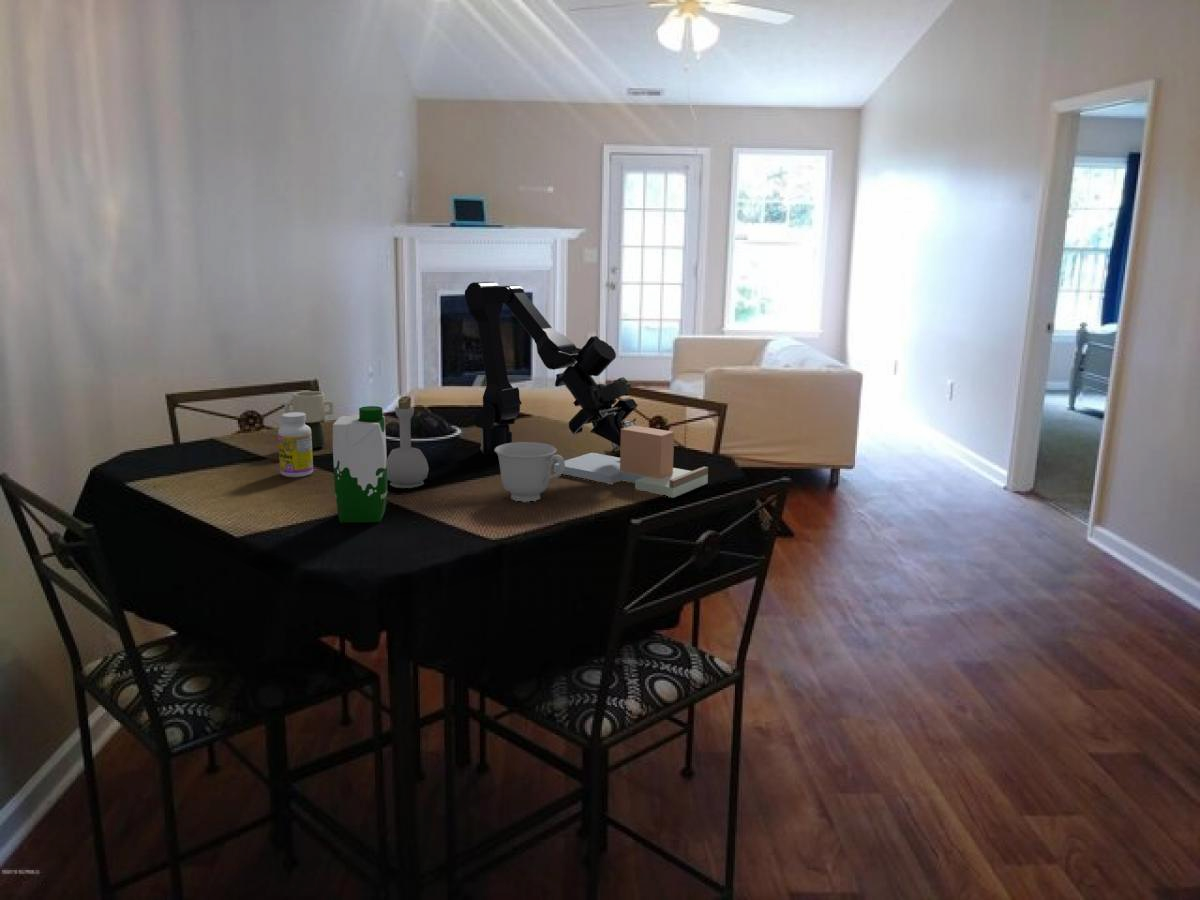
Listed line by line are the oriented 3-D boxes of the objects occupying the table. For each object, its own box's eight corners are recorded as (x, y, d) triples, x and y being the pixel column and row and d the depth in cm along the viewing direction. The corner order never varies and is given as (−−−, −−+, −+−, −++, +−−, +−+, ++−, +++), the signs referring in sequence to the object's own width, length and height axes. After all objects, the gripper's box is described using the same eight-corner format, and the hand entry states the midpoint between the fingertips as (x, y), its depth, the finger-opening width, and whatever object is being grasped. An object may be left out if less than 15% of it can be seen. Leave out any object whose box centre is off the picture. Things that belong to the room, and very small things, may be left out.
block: (619, 470, 196) (620, 429, 194) (632, 466, 200) (634, 425, 198) (660, 478, 191) (661, 435, 189) (672, 473, 195) (674, 431, 193)
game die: (628, 464, 225) (651, 430, 225) (626, 460, 216) (650, 425, 217) (598, 444, 226) (621, 410, 227) (594, 439, 218) (619, 404, 218)
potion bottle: (436, 480, 193) (434, 395, 189) (414, 491, 185) (411, 402, 181) (399, 476, 196) (396, 392, 192) (376, 487, 188) (372, 399, 184)
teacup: (545, 513, 172) (545, 461, 170) (482, 500, 180) (481, 450, 178) (580, 498, 182) (581, 449, 180) (519, 486, 190) (519, 439, 188)
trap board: (553, 473, 201) (553, 457, 200) (591, 461, 212) (591, 446, 211) (673, 497, 184) (673, 480, 183) (707, 483, 195) (708, 467, 195)
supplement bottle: (274, 473, 196) (270, 413, 193) (303, 468, 201) (299, 409, 198) (290, 479, 192) (287, 418, 189) (319, 474, 196) (316, 414, 193)
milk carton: (384, 524, 165) (380, 413, 160) (332, 524, 164) (327, 412, 159) (391, 509, 173) (387, 403, 168) (341, 509, 172) (336, 403, 168)
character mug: (335, 443, 224) (333, 390, 221) (334, 450, 217) (332, 395, 214) (288, 445, 221) (285, 391, 218) (285, 452, 215) (282, 396, 212)
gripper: (580, 370, 189) (624, 431, 185) (631, 361, 204) (672, 417, 200) (549, 404, 195) (591, 463, 192) (601, 393, 210) (640, 447, 206)
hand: (625, 446), depth 197 cm, fingers closed, pressing on block
